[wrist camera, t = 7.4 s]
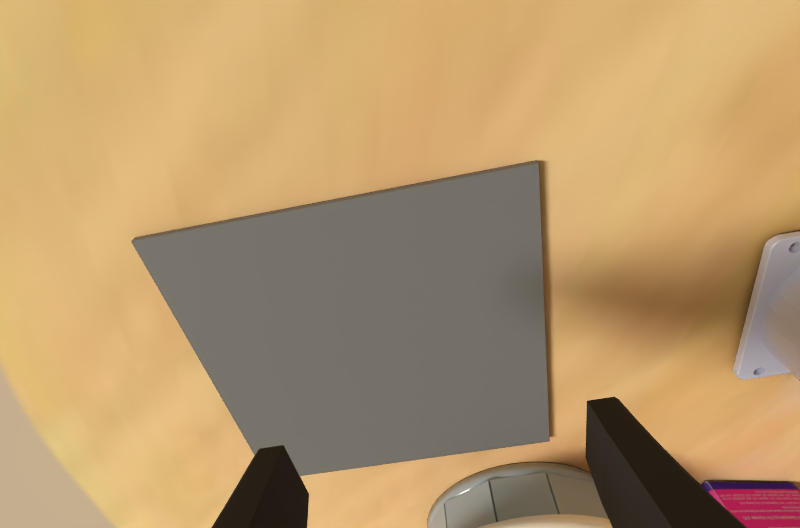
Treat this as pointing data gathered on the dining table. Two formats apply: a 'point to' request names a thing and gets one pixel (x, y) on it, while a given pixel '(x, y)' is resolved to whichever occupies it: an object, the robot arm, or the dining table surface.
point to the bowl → (516, 495)
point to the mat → (372, 319)
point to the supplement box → (759, 502)
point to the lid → (553, 522)
